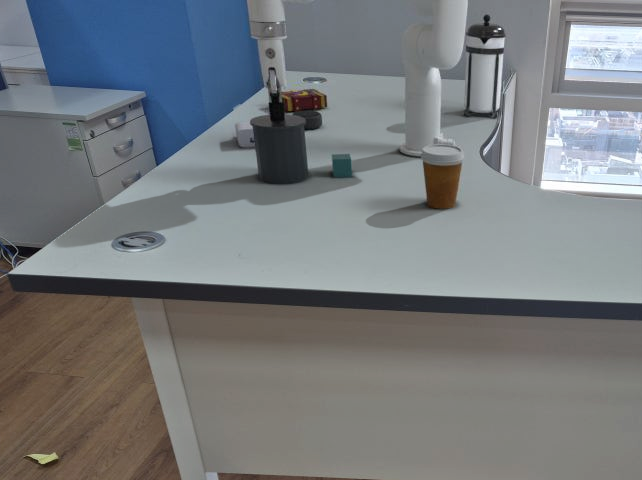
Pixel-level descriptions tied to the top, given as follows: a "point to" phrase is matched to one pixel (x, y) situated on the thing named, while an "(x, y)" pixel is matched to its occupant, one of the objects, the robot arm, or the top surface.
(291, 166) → the container
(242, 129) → the charger
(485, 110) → the coffee press
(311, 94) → the decorative book
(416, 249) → the top surface
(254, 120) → the lid
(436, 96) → the robot arm
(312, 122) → the smart speaker
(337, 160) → the block
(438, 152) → the disposable coffee cup
